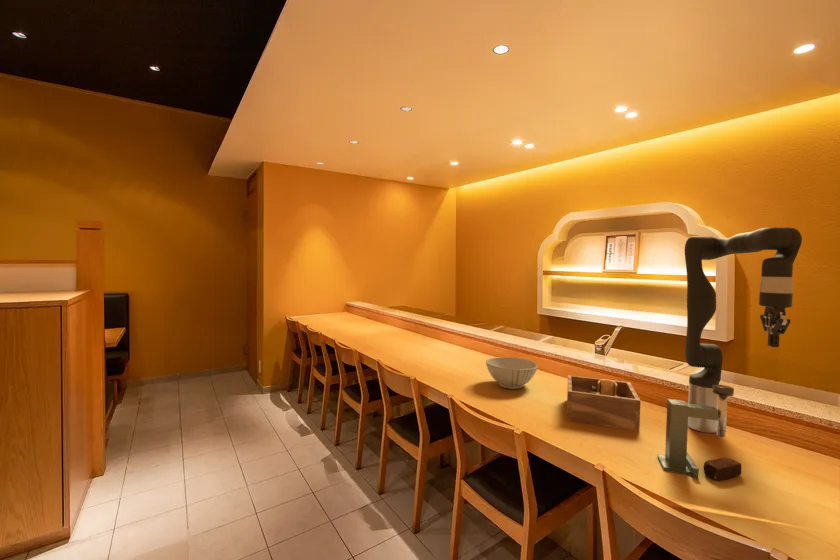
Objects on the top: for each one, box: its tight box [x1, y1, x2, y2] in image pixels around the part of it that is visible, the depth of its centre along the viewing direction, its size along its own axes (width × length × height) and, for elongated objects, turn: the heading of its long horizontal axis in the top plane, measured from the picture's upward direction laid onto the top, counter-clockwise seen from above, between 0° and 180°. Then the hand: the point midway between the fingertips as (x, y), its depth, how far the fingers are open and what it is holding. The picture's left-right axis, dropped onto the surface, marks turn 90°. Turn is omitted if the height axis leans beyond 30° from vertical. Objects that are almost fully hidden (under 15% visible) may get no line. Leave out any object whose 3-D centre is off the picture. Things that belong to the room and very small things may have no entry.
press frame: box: [656, 398, 718, 480], centre depth 117 cm, size 12×14×20 cm
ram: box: [713, 383, 735, 438], centre depth 114 cm, size 5×5×15 cm
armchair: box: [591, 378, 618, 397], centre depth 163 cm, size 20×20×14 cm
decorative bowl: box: [485, 356, 538, 390], centre depth 199 cm, size 27×27×12 cm
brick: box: [703, 456, 742, 481], centre depth 114 cm, size 11×4×5 cm
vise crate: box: [566, 374, 641, 432], centre depth 161 cm, size 26×26×12 cm
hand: (773, 346), depth 117 cm, fingers closed
